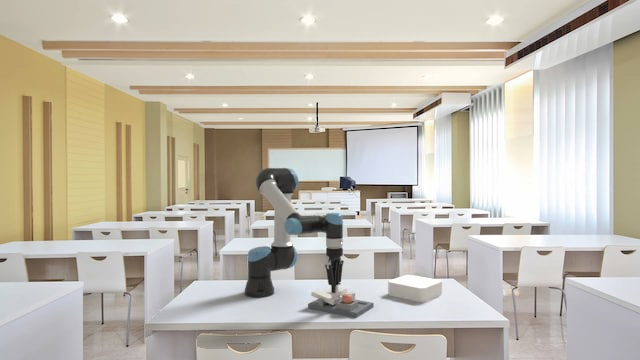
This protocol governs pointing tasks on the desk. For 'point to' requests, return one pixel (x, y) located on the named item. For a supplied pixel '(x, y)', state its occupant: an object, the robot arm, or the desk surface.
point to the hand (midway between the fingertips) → (334, 299)
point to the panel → (342, 307)
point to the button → (347, 298)
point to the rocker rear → (340, 291)
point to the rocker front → (324, 296)
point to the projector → (415, 288)
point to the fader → (352, 295)
